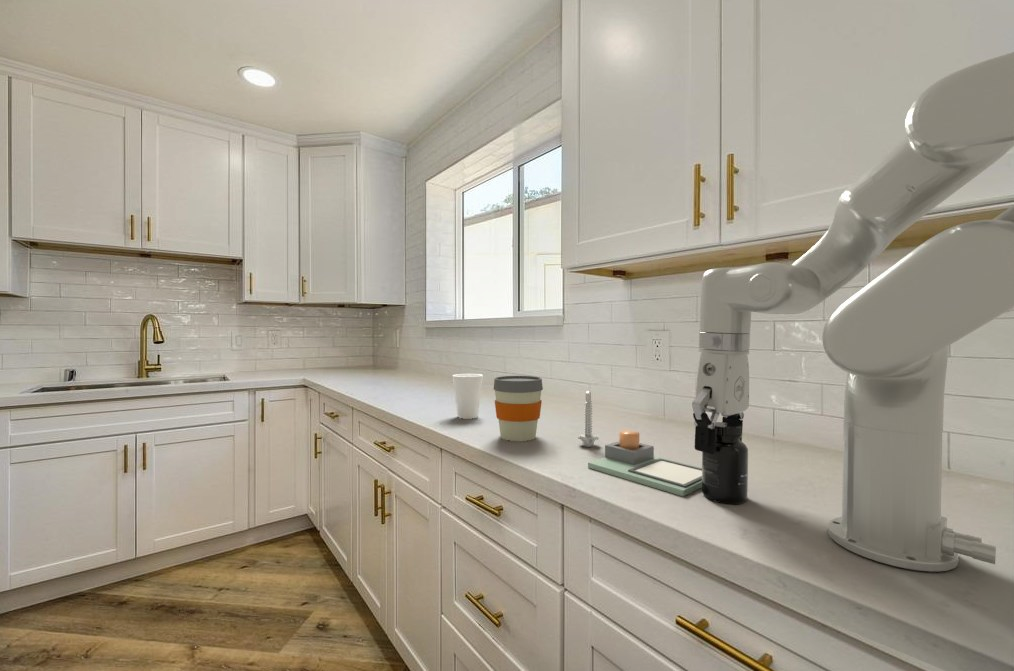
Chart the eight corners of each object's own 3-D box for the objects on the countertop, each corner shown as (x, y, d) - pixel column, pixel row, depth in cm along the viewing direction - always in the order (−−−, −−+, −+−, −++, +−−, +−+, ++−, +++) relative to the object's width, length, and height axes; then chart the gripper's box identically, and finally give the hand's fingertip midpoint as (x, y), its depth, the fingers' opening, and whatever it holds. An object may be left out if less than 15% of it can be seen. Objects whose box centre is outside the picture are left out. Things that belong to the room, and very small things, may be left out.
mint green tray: (720, 477, 83) (721, 459, 83) (683, 496, 74) (683, 475, 74) (628, 454, 98) (628, 438, 98) (587, 467, 89) (588, 450, 89)
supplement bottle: (753, 506, 69) (754, 430, 69) (707, 503, 71) (707, 428, 71) (740, 490, 76) (740, 421, 76) (697, 488, 78) (698, 419, 77)
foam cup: (471, 412, 146) (471, 373, 145) (489, 417, 138) (488, 375, 138) (447, 416, 140) (446, 375, 139) (463, 421, 132) (463, 377, 132)
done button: (643, 452, 92) (643, 432, 92) (632, 455, 89) (632, 436, 89) (626, 448, 95) (626, 429, 95) (615, 451, 92) (615, 432, 92)
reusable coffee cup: (486, 433, 117) (486, 376, 117) (529, 429, 122) (529, 374, 122) (504, 445, 105) (504, 382, 105) (551, 440, 110) (551, 379, 110)
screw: (579, 448, 103) (576, 442, 108) (600, 448, 103) (596, 442, 108) (579, 392, 103) (576, 389, 107) (600, 392, 103) (596, 389, 107)
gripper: (723, 347, 65) (718, 463, 66) (768, 343, 76) (763, 442, 77) (675, 343, 70) (670, 450, 71) (723, 341, 82) (719, 433, 83)
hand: (718, 446), depth 74 cm, fingers open, 9 cm apart
